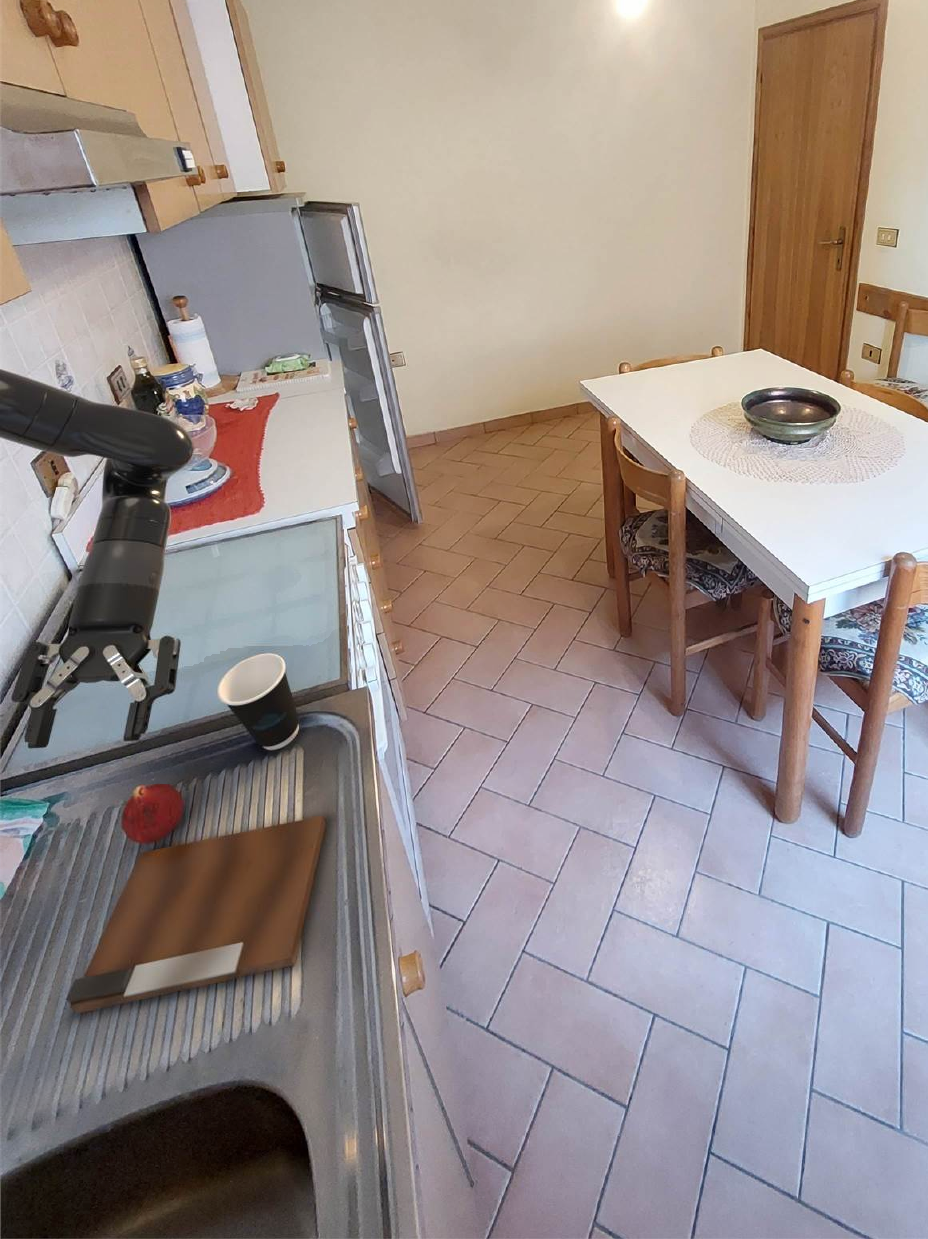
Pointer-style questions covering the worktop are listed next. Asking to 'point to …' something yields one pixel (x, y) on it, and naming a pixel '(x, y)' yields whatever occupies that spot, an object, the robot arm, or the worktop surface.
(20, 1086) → the worktop surface
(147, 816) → the onion
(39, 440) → the robot arm
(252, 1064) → the worktop surface
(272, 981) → the worktop surface
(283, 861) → the cutting board
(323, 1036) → the worktop surface
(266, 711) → the dixie cup
